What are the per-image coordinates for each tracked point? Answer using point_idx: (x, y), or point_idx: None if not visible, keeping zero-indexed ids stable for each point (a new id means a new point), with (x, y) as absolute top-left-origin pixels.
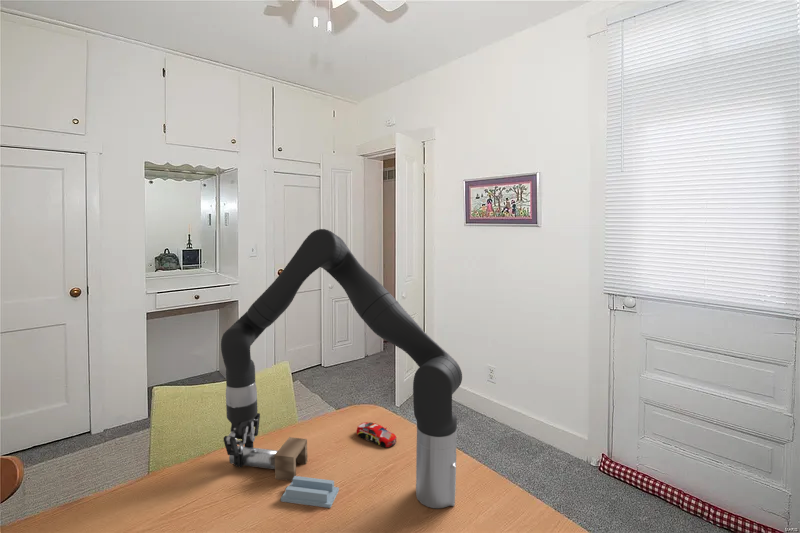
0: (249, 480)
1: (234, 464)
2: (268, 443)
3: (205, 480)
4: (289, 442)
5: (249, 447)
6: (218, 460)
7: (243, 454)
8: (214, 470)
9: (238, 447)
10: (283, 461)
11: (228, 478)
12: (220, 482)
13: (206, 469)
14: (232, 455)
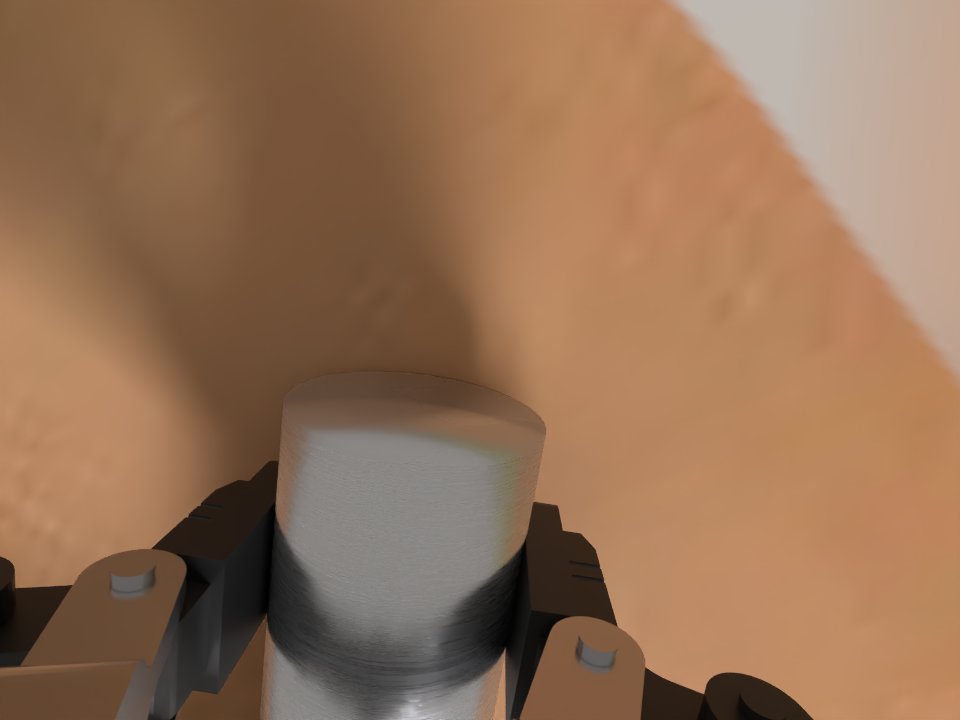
0: None
1: (221, 490)
2: (858, 629)
3: (60, 174)
4: None
5: (415, 711)
6: (477, 137)
7: (276, 642)
8: (260, 191)
9: (383, 550)
10: None
11: (141, 429)
12: (61, 371)
13: (268, 67)
14: (283, 457)
